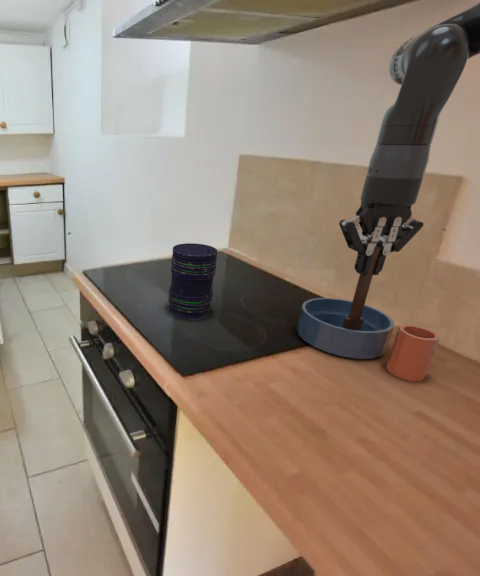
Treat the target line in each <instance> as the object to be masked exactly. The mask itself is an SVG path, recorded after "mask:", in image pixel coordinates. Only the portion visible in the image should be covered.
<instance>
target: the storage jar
mask: <svg viewBox="0 0 480 576" xmlns="http://www.w3.org/2000/svg"><path fill="white" fill-rule="evenodd" d="M218 252H219V251H218V249H217V247H214V246H212V245H208V244H204V243H191V242H189V243H188V242H185V243H179V244H176V245H174V246H173V247H172V254H171V262H170V264H171V266H170V272H171V279H170V280H171V282H170V286H169V287H168V297H167V298H168V299H167V300H168V307H167V308H168V309H167V310H168V312H169V313H170V315H173V316H174V317H176V318H179V319H183V320H191V321H192V320H193V321H194V320H195V321H197V320H202V319H203V320H204V319H205V318H207V317H209V316H210V314H211V307H212V304H213V296H214V291H213V283H214V277H215V275H216V271H217V270H216V269H217V264H218V262H217V259H218V257H217V256H218Z"/></svg>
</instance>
